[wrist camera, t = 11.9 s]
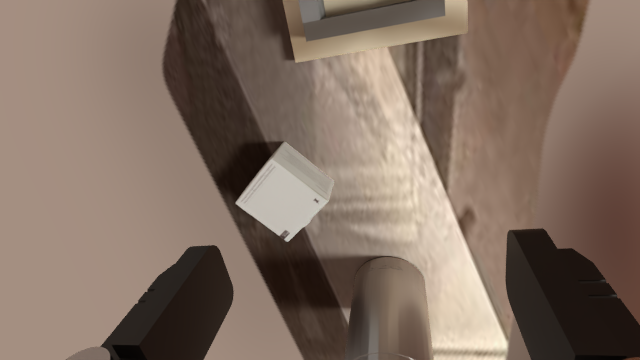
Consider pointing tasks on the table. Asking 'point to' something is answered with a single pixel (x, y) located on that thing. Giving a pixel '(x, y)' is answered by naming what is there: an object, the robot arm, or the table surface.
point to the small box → (286, 192)
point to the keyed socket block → (368, 24)
